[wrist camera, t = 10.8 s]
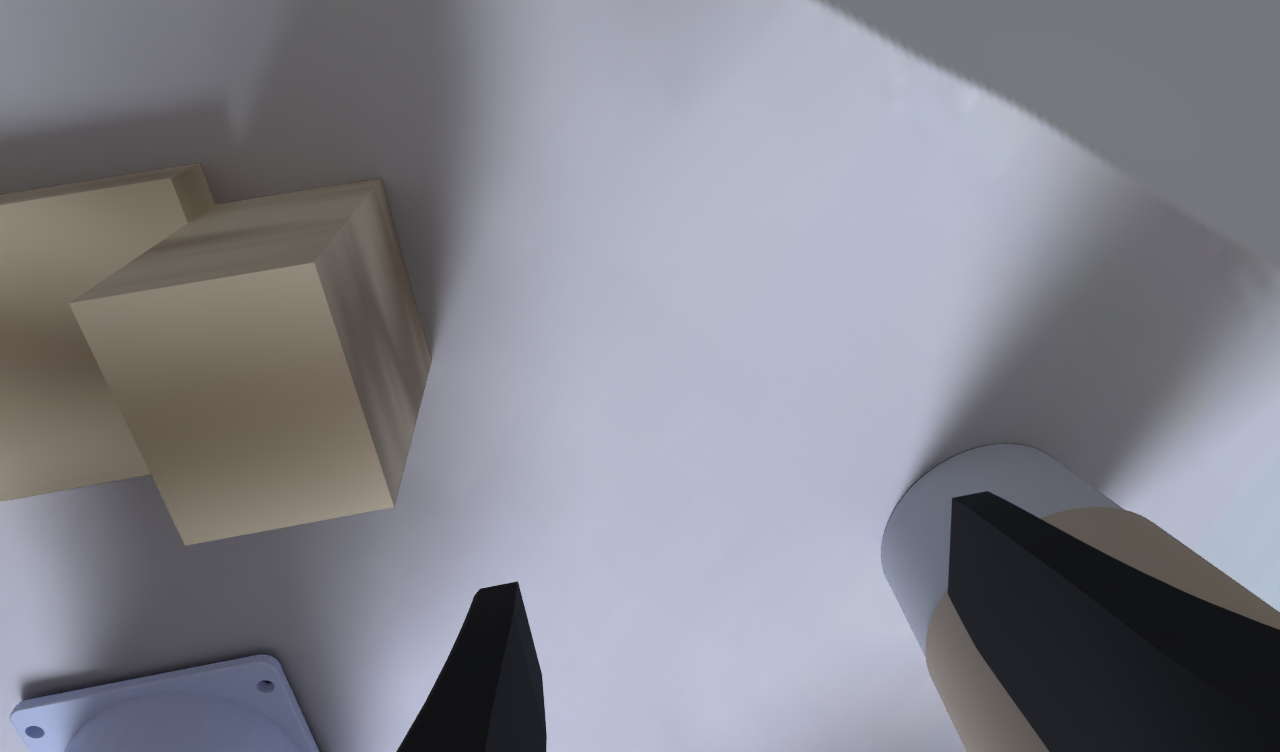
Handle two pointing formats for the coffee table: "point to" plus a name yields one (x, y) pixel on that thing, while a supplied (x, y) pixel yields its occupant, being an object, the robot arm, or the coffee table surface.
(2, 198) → the oak l-shaped block
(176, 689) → the robot arm
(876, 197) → the coffee table surface
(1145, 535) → the coffee cup
